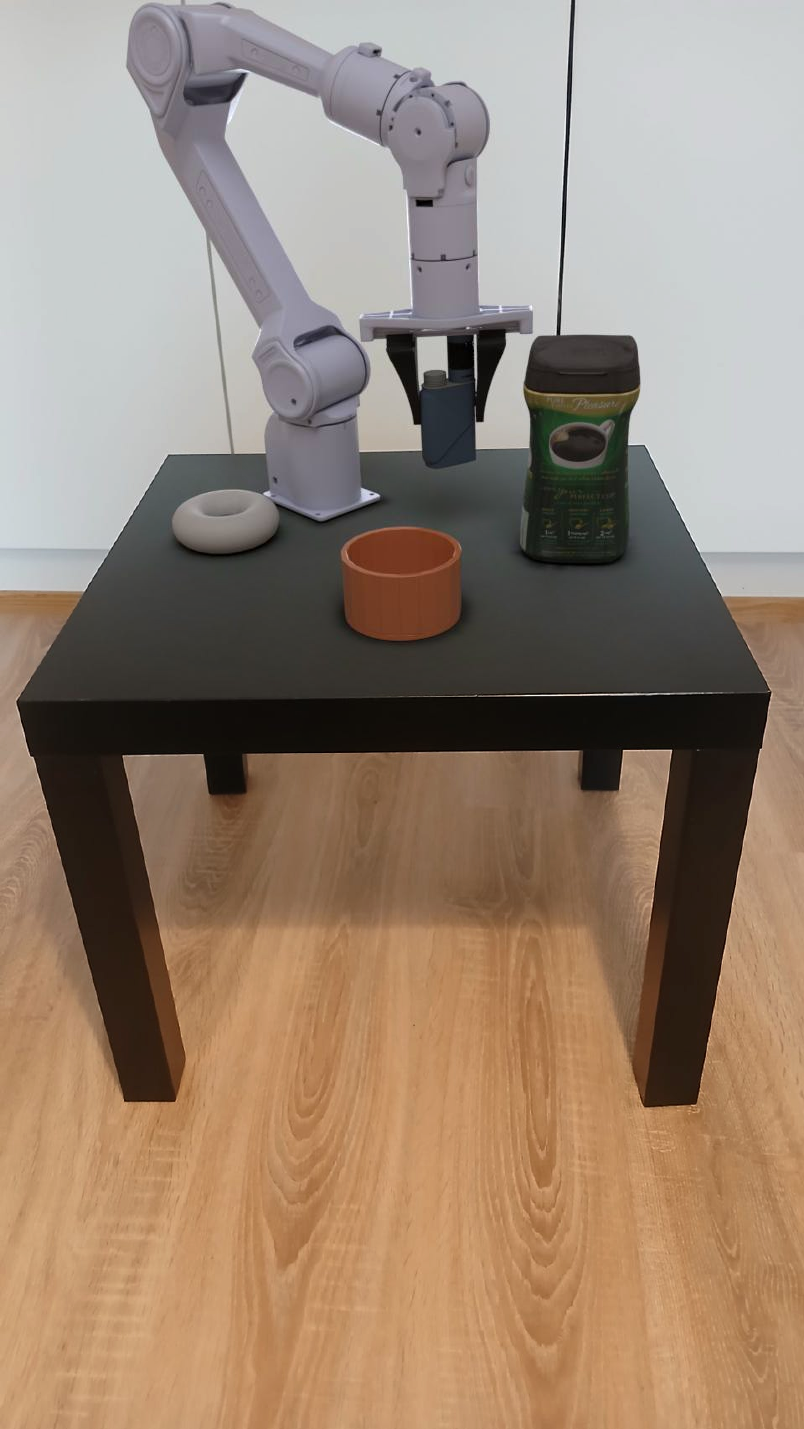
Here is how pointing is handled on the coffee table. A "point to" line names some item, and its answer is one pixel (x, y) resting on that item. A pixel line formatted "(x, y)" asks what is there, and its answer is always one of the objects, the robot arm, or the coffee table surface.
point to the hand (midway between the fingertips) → (449, 420)
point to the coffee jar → (578, 447)
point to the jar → (402, 583)
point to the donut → (225, 521)
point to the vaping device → (450, 407)
